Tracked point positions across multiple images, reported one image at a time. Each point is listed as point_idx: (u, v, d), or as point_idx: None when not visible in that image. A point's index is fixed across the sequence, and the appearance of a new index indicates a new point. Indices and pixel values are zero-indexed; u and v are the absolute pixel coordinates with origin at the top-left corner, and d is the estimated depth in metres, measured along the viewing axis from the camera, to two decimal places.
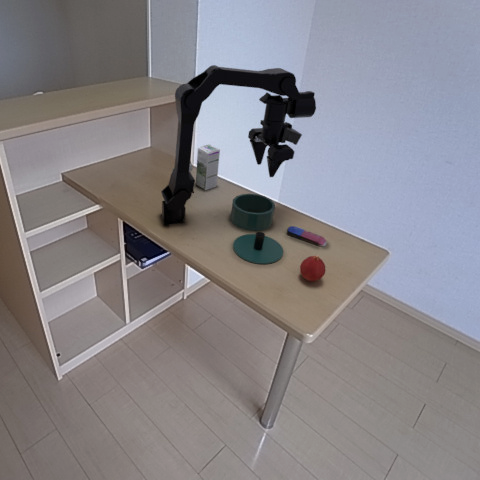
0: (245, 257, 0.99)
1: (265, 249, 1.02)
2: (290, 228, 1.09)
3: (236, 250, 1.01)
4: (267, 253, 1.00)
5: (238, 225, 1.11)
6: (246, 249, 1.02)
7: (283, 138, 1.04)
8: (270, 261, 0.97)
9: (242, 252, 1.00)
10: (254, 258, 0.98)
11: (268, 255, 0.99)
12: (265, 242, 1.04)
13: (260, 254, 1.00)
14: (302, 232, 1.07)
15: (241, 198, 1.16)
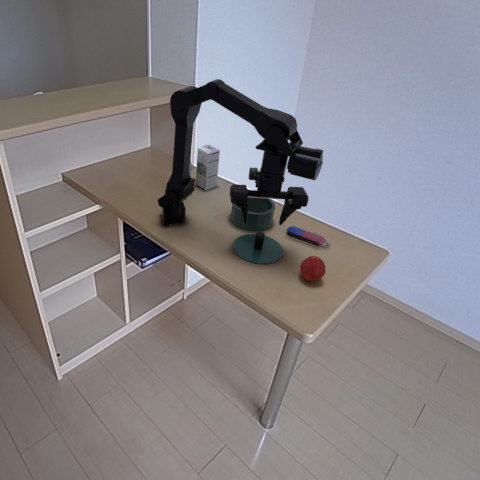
0: (245, 257, 0.99)
1: (265, 249, 1.02)
2: (290, 228, 1.09)
3: (236, 250, 1.01)
4: (267, 253, 1.00)
5: (238, 225, 1.11)
6: (246, 249, 1.02)
7: None
8: (270, 261, 0.97)
9: (242, 252, 1.00)
10: (254, 258, 0.98)
11: (268, 255, 0.99)
12: (265, 242, 1.04)
13: (260, 254, 1.00)
14: (302, 232, 1.07)
15: None
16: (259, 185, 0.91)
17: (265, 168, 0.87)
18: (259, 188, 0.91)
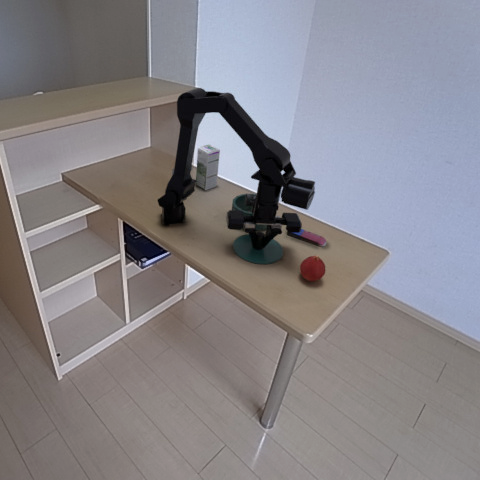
0: (245, 257, 0.99)
1: (265, 249, 1.02)
2: None
3: (236, 250, 1.01)
4: (267, 253, 1.00)
5: None
6: (246, 249, 1.02)
7: None
8: (270, 261, 0.97)
9: (242, 252, 1.00)
10: (254, 258, 0.98)
11: (268, 255, 0.99)
12: None
13: (260, 254, 1.00)
14: (302, 232, 1.07)
15: (241, 198, 1.16)
16: (254, 212, 0.95)
17: (260, 197, 0.91)
18: (254, 215, 0.95)
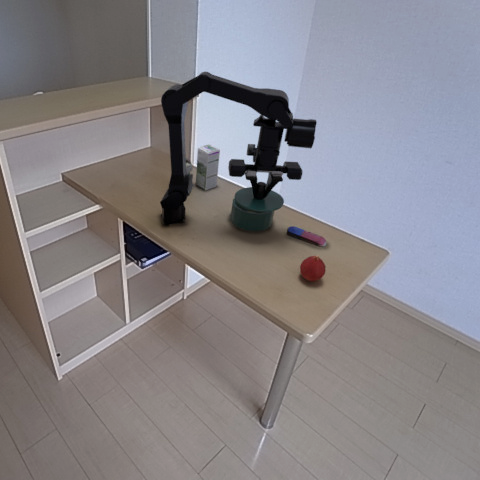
0: (246, 205, 1.00)
1: (266, 199, 1.03)
2: (290, 228, 1.09)
3: (237, 200, 1.03)
4: (268, 203, 1.01)
5: (238, 225, 1.11)
6: (247, 199, 1.03)
7: None
8: (271, 209, 0.99)
9: (243, 201, 1.02)
10: (255, 206, 1.00)
11: (269, 204, 1.01)
12: None
13: (261, 203, 1.01)
14: (302, 232, 1.07)
15: None
16: (256, 159, 0.97)
17: (265, 143, 0.92)
18: (256, 162, 0.97)
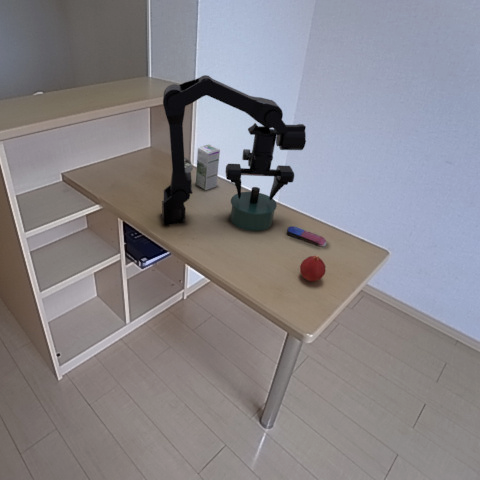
0: (242, 209, 1.08)
1: (260, 203, 1.11)
2: (290, 228, 1.09)
3: (233, 204, 1.10)
4: (262, 206, 1.09)
5: (238, 225, 1.11)
6: (242, 203, 1.11)
7: None
8: (264, 212, 1.07)
9: (239, 205, 1.10)
10: (250, 210, 1.08)
11: (263, 208, 1.09)
12: (260, 198, 1.14)
13: (255, 207, 1.09)
14: (302, 232, 1.07)
15: None
16: (251, 163, 1.04)
17: (261, 149, 0.99)
18: (251, 166, 1.04)
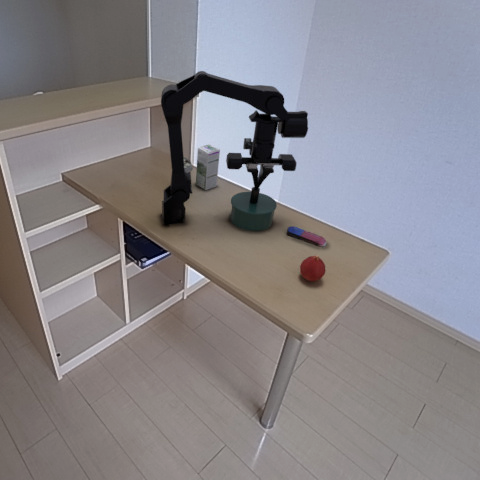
0: (242, 209, 1.08)
1: (260, 203, 1.11)
2: (290, 228, 1.09)
3: (233, 204, 1.10)
4: (262, 206, 1.09)
5: (238, 225, 1.11)
6: (242, 203, 1.11)
7: None
8: (264, 212, 1.07)
9: (239, 205, 1.10)
10: (250, 210, 1.08)
11: (263, 208, 1.09)
12: (260, 198, 1.14)
13: (255, 207, 1.09)
14: (302, 232, 1.07)
15: None
16: (252, 152, 1.02)
17: (263, 137, 0.97)
18: (252, 155, 1.02)
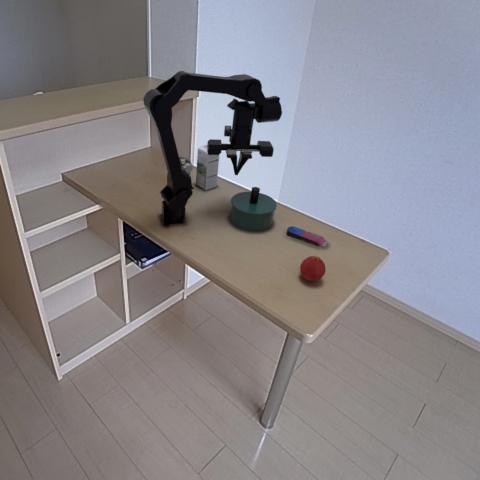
0: (242, 209, 1.08)
1: (260, 203, 1.11)
2: (290, 228, 1.09)
3: (233, 204, 1.10)
4: (262, 206, 1.09)
5: (238, 225, 1.11)
6: (242, 203, 1.11)
7: None
8: (264, 212, 1.07)
9: (239, 205, 1.10)
10: (250, 210, 1.08)
11: (263, 208, 1.09)
12: (260, 198, 1.14)
13: (255, 207, 1.09)
14: (302, 232, 1.07)
15: None
16: (231, 138, 1.06)
17: (243, 124, 1.01)
18: (231, 141, 1.06)
